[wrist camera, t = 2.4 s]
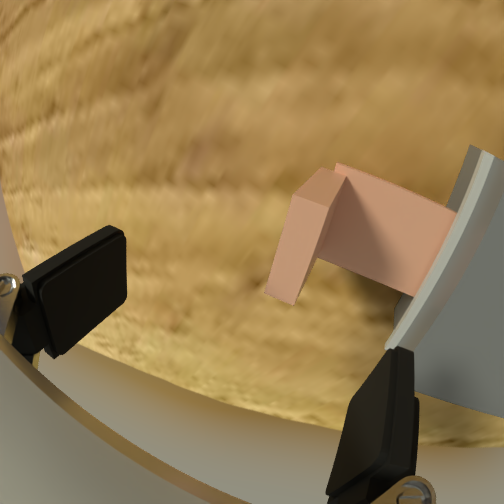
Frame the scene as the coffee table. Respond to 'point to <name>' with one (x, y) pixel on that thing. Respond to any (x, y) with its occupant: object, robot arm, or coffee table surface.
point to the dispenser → (462, 298)
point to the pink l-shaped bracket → (358, 232)
